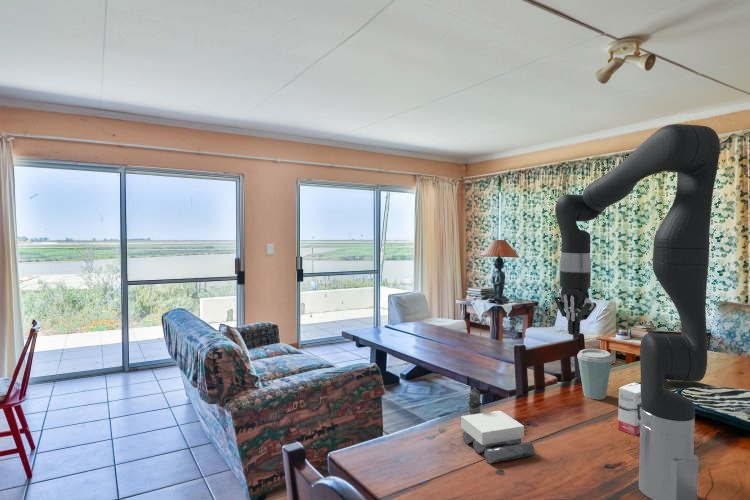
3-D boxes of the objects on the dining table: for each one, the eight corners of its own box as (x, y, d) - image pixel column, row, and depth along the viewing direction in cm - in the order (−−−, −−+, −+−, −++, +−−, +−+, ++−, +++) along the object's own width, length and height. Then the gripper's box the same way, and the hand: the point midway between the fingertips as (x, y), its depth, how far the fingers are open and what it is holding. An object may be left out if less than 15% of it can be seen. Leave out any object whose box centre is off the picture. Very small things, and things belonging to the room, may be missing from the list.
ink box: (635, 436, 116) (637, 392, 116) (616, 429, 120) (618, 387, 120) (651, 428, 121) (652, 386, 120) (632, 422, 125) (633, 381, 125)
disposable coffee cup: (603, 404, 138) (604, 357, 137) (570, 395, 146) (571, 350, 145) (617, 397, 144) (618, 352, 144) (584, 388, 153) (585, 345, 152)
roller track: (534, 457, 104) (534, 445, 104) (491, 465, 101) (491, 453, 100) (502, 434, 117) (502, 423, 117) (462, 440, 113) (462, 429, 113)
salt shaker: (469, 423, 123) (470, 381, 123) (488, 429, 120) (489, 386, 119) (459, 430, 119) (460, 387, 118) (479, 437, 115) (480, 392, 115)
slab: (523, 437, 108) (524, 426, 108) (482, 445, 104) (482, 432, 104) (500, 421, 118) (500, 410, 117) (460, 427, 114) (461, 416, 114)
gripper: (606, 271, 111) (604, 339, 111) (568, 267, 123) (566, 328, 124) (583, 272, 108) (581, 341, 109) (546, 268, 121) (545, 330, 121)
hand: (573, 334), depth 116 cm, fingers closed
